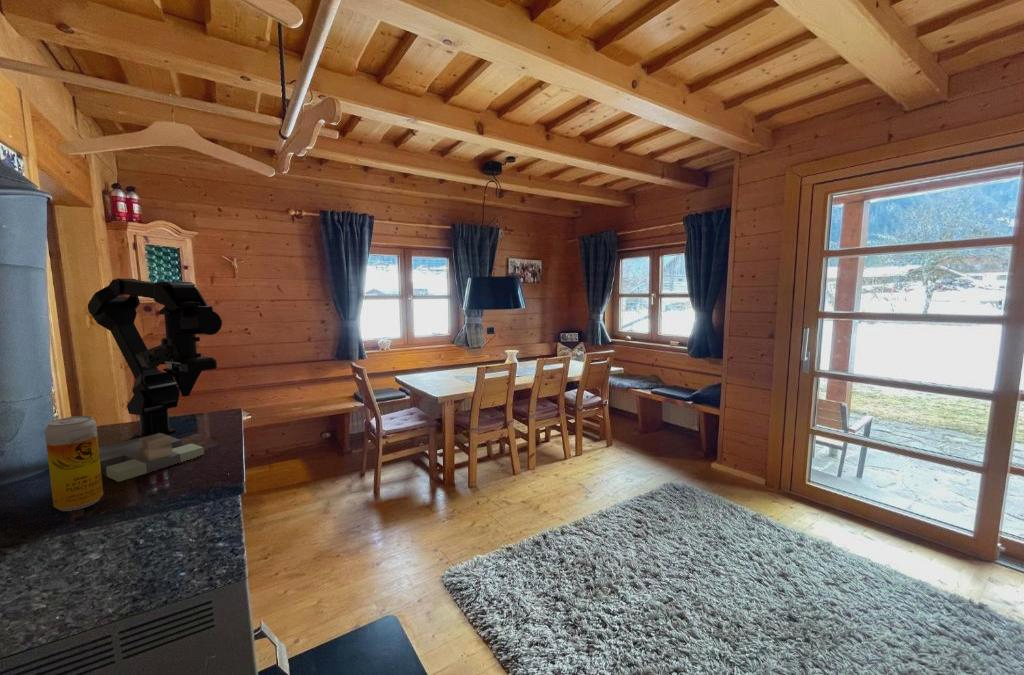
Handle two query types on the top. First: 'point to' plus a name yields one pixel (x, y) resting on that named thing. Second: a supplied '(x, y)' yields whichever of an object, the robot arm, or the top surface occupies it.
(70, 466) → the beer can
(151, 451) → the block
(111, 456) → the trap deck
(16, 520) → the top surface
